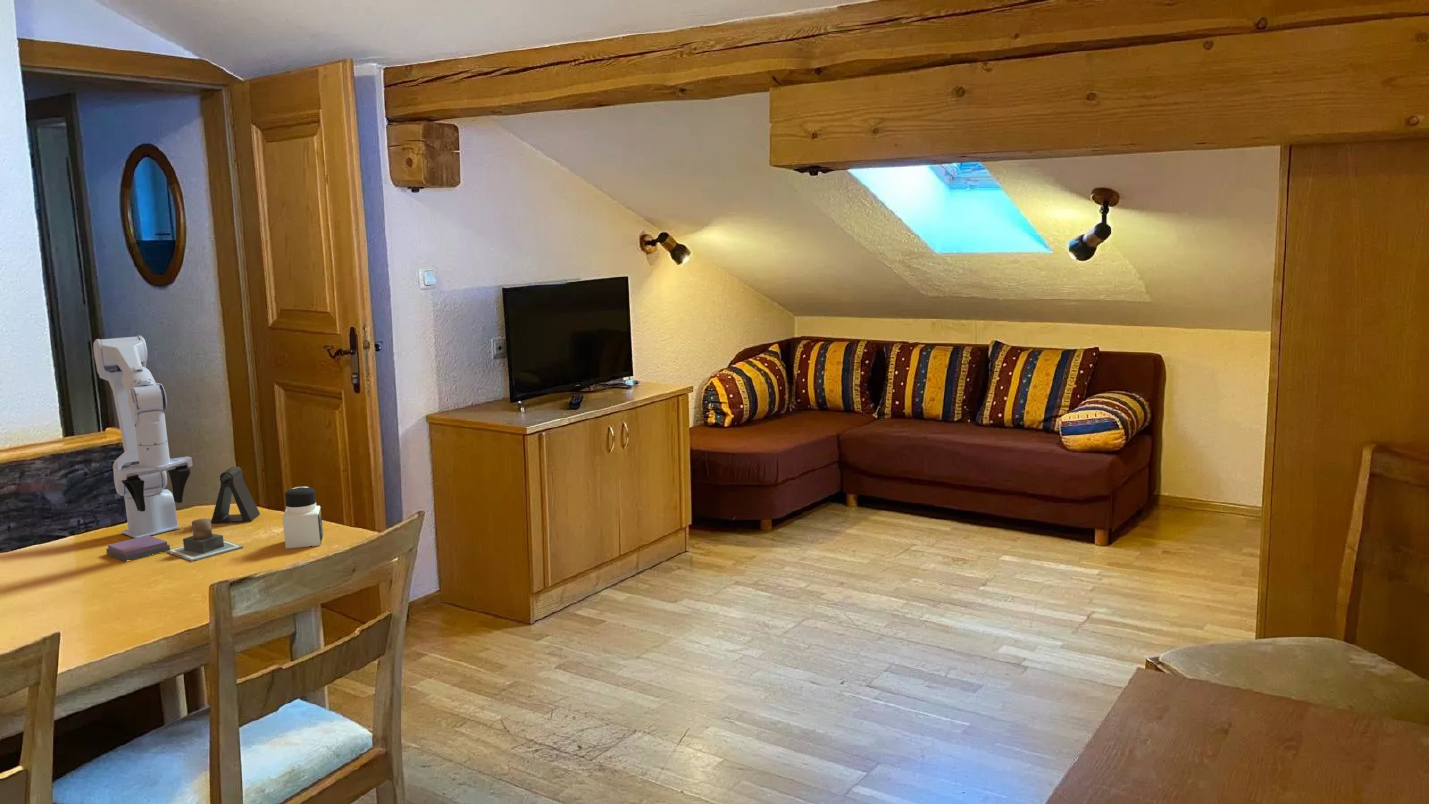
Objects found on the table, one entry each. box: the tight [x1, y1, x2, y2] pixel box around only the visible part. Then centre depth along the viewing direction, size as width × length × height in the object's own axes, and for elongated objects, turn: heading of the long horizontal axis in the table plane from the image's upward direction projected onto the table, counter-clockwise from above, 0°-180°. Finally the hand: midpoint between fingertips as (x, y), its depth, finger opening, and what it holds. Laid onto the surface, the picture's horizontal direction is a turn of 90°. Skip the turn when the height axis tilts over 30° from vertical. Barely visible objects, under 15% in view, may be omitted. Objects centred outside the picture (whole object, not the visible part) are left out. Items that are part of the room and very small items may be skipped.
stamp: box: [182, 518, 224, 553], centre depth 227 cm, size 5×6×6 cm
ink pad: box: [105, 535, 171, 562], centre depth 226 cm, size 9×9×2 cm
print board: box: [165, 539, 244, 562], centre depth 227 cm, size 11×11×1 cm
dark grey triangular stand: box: [210, 465, 261, 525], centre depth 249 cm, size 9×6×12 cm, turn 94°
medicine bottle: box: [282, 486, 324, 550], centre depth 229 cm, size 7×7×12 cm
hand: (160, 506), depth 225 cm, fingers open, 7 cm apart
